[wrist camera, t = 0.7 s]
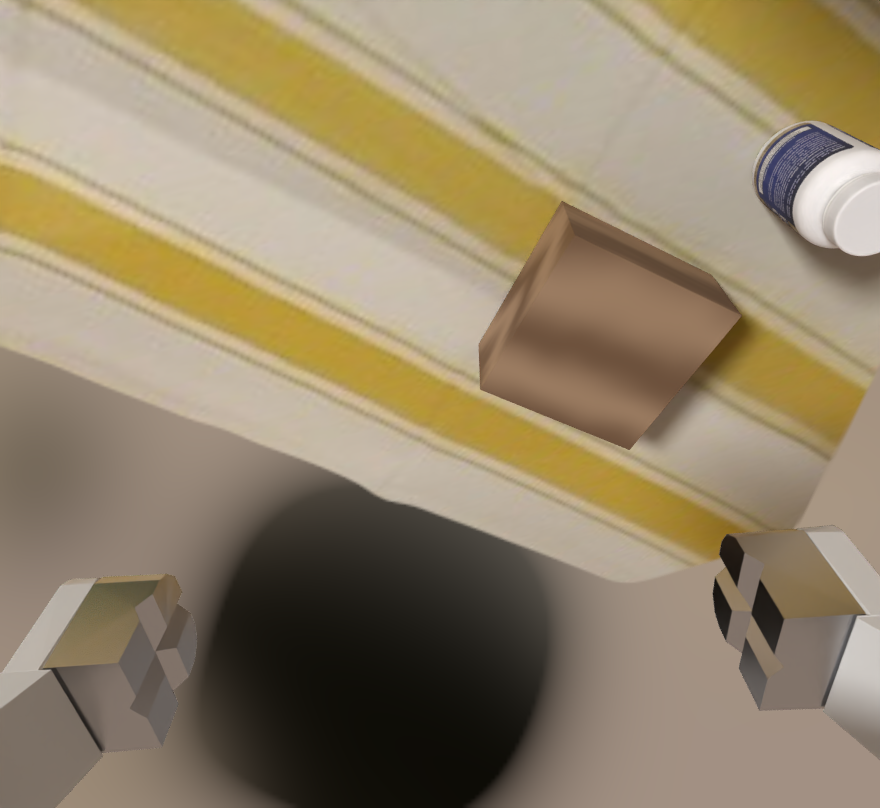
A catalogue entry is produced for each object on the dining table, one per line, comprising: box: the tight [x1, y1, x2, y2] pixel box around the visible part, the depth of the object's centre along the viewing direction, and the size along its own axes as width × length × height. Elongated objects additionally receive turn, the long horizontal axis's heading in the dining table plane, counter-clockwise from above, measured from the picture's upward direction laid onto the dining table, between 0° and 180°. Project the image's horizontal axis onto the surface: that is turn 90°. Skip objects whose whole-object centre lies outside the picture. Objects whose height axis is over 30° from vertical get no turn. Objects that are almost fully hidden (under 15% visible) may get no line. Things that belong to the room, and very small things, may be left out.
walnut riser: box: [479, 201, 742, 450], centre depth 44 cm, size 12×12×6 cm
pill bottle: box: [752, 121, 880, 256], centre depth 36 cm, size 5×5×10 cm
